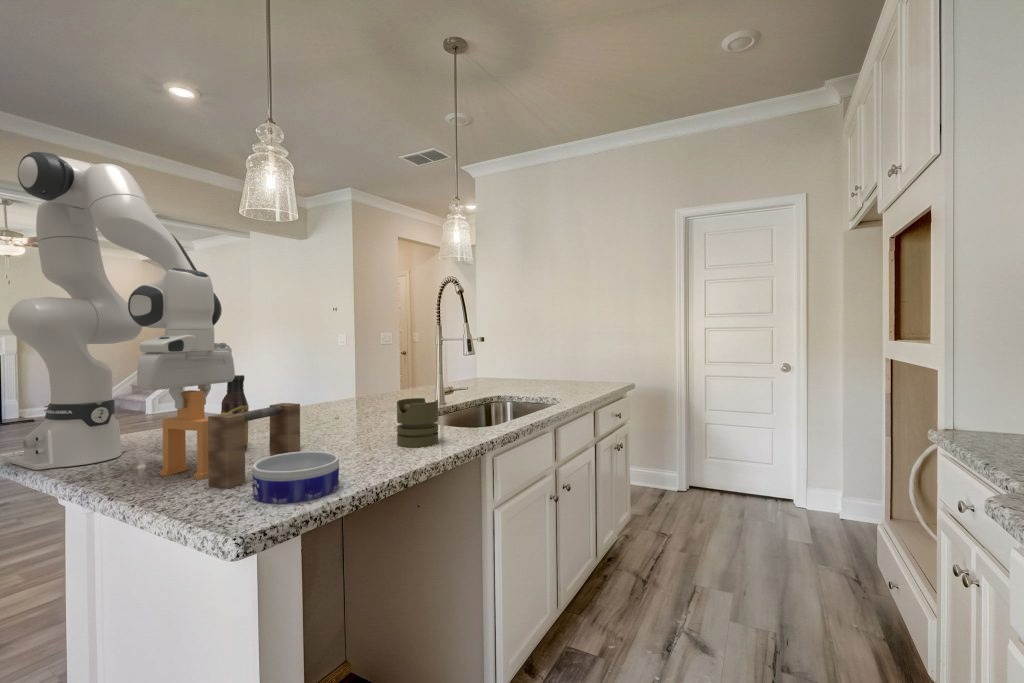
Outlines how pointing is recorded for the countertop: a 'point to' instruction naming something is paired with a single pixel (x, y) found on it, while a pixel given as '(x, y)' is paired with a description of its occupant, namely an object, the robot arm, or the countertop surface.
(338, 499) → the countertop surface
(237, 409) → the sauce bottle
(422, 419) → the piston
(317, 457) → the dog bowl
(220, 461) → the crossbar stand
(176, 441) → the orange stepped block
